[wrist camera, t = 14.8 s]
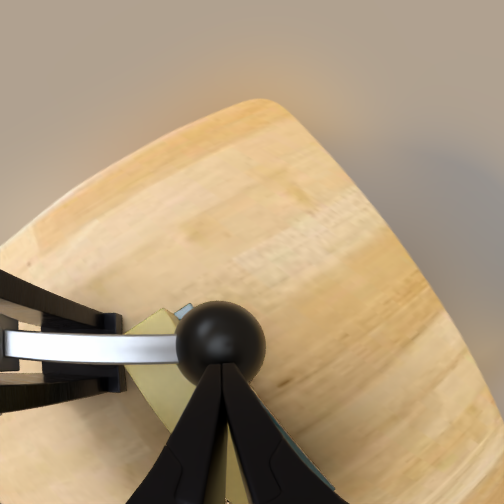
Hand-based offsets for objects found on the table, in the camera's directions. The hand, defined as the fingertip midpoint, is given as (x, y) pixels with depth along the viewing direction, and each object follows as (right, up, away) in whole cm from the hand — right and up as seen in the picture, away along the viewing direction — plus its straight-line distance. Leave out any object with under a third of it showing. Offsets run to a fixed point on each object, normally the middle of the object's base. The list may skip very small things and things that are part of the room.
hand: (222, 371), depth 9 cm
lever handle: (-5, 0, +2) cm, 6 cm away
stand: (-10, -3, +8) cm, 14 cm away
